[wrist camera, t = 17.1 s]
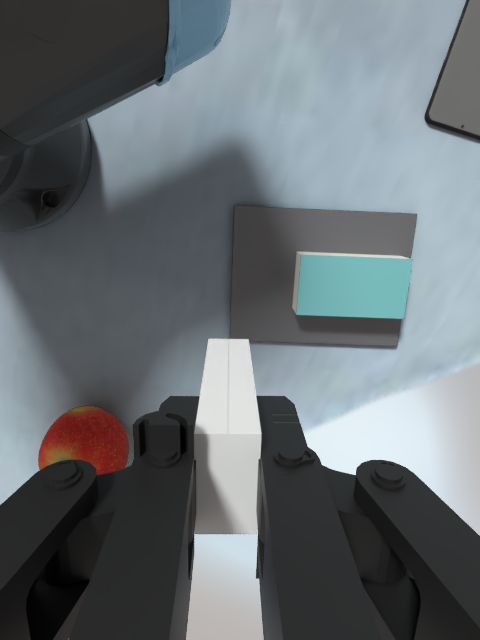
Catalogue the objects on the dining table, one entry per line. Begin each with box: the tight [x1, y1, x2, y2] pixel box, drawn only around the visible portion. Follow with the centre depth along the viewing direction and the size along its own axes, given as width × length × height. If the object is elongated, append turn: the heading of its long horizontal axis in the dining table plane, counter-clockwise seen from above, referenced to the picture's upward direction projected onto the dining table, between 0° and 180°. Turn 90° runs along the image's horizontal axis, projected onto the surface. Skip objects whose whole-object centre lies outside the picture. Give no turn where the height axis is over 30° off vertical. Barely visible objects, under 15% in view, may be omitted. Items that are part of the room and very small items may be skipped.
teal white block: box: [292, 252, 413, 319], centre depth 39 cm, size 3×6×10 cm
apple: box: [38, 406, 129, 475], centre depth 40 cm, size 8×8×10 cm
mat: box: [230, 206, 417, 346], centre depth 40 cm, size 17×13×1 cm
